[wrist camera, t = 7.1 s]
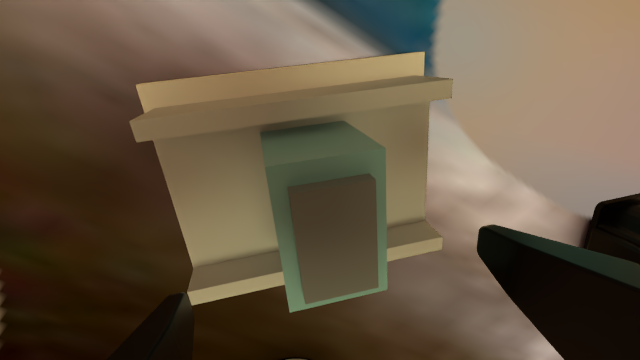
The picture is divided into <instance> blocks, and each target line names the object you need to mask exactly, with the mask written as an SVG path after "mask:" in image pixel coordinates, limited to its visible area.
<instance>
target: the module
mask: <svg viewBox="0 0 640 360" xmlns="http://www.w3.org/2000/svg"><path fill="white" fill-rule="evenodd" d="M260 136H261V144H262V151H263V158H264V166H265V172H266V177H267V183H268V189H269V195H270V201H271V206H272V212H273V218H274V224H275V230H276V235H277V241H278V247H279V253H280V258H281V264H282V270H283V276H284V282H285V287H286V293H287V299H288V305H289V311H290V312H294V311H299V310H303V309H307V308H312V307H316V306H320V305H324V304H329V303H333V302H337V301H341V300H346V299H350V298H354V297H359V296H363V295H367V294H371V293H376V292H380V291H384V290H387V214H386V148H385V147H384V146H382V145H380V144H379V143H377V142H376V141H374V140H373V139H371V138H370V137H368V136H367V135H365V134H364V133H362V132H361V131H359V130H358V129H356V128H355V127H353V126H351V125H350V124H348V123H347V122H345V121H336V122H329V123H322V124H315V125H308V126H300V127H293V128H286V129H279V130H272V131H264V132H260Z"/></svg>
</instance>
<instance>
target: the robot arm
mask: <svg viewBox="0 0 640 360" xmlns="http://www.w3.org/2000/svg"><path fill="white" fill-rule="evenodd" d="M477 252H478V255H479V257H480V258H481V259H482V261H483V262H484V263H485V265H486V266H487V268H488V269H489V270H490V272H491V273H492V274H493V276H494V277H495V279H496V280H497V281H498V283H499V284H500V285H501V287H502V288H503V289H504V291H505V292H506V293H507V295H508V296H509V297H510V298H511V300H512V301H513V302H514V303H515V304H516V305H517V306H518V308H519V309H520V310H521V311H522V312H523V313H524V314H525V316H526V317H527V318H528V319H529V320H530V321H531V322H532V324H533V325H534V326H535V327H536V328H537V329H538V330H539V331H540V333H541V334H542V335H543V336H544V337H545V338H546V339H547V341H548V342H549V343H550V344H551V345H552V346H553V347H554V348H555V350H556V351H557V352H558V353H559V354H560V355H561V356H562V358H563V359H564V360H640V193H639V194H635V195H630V196H625V197H621V198H616V199H612V200H607V201H602V202H600V203H598V204H597V206H596V207H595V210H594V214H593V217H592V221H591V225H590V228H589V232H588V235H587V239H586V243H585V246H584V249H583V248H579V247H575V246H572V245H568V244H564V243H561V242H557V241H553V240H549V239H546V238H542V237H538V236H535V235H531V234H527V233H524V232H520V231H516V230H512V229H509V228H505V227H501V226H498V225H487V226H483V227H481V228H480V229H479V234H478V242H477ZM193 336H194V315H193V311H192V308H191V306H190V303H189V300H188V297H187V295H186V293H184V292H180V293H176V294H171V295H169V296H168V297H166V298H165V299H164V300H163V302H162V303H161V304H160V305H159V306H158V307H157V308H156V309H155V310H154V311H153V312H152V313H151V314H150V315H149V316H148V317H147V318H146V319H145V320H144V321H143V322H142V323H141V324H140V325H139V326H138V327H137V328H136V330H135V331H134V332H133V333H132V334H131V335H130V336H129V337H128V338H127V339H126V340H125V341H124V342H123V343H122V344H121V345H120V346H119V347H118V348H117V349H116V350H115V351H114V352H113V353H112V354H111V355H110V356H109V358H108V359H107V360H192V351H193Z"/></svg>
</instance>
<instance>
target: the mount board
mask: <svg viewBox="0 0 640 360" xmlns="http://www.w3.org/2000/svg"><path fill="white" fill-rule="evenodd" d="M424 55H425V52H412V53H403V54H394V55H386V56H377V57H368V58H359V59H350V60H342V61H333V62H324V63H315V64H306V65H298V66H289V67H280V68H271V69H262V70H254V71H245V72H236V73H227V74H218V75H209V76H201V77H192V78H183V79H174V80H165V81H157V82H148V83H141V84H136V88H137V91H138V95H139V98H140V101H141V104H142V107H143V110H144V114H142V115H140V116H138V117H136V118H135V119H133V120H131V121H129V122H130V125H131V128H132V131H133V134H134V137H135V140H136V142H143V141H150V140H153V142H154V145H155V148H156V151H157V154H158V158H159V161H160V164H161V167H162V170H163V173H164V176H165V180H166V183H167V186H168V189H169V192H170V195H171V198H172V202H173V205H174V208H175V211H176V214H177V217H178V221H179V224H180V227H181V230H182V233H183V236H184V239H185V243H186V246H187V249H188V252H189V255H190V258H191V261H192V265H193V268H194V269H193V273H192V277H191V280H190V284H189V288H188V292H187V293H188V296H189V299H190V302H191V304H192V305H196V304H200V303H205V302H209V301H213V300H218V299H222V298H227V297H231V296H236V295H240V294H245V293H249V292H254V291H258V290H262V289H267V288H271V287H276V286H280V285H285V282H284V276H283V270H282V264H281V258H280V253H279V247H278V241H277V235H276V230H275V224H274V218H273V212H272V206H271V201H270V195H269V189H268V183H267V177H266V172H265V166H264V158H263V151H262V144H261V136H260V132H264V131H272V130H279V129H286V128H293V127H300V126H308V125H315V124H322V123H329V122H336V121H345V122H347V123H348V124H350V125H351V126H353V127H355V128H356V129H358V130H359V131H361V132H362V133H364V134H365V135H367V136H368V137H370V138H371V139H373V140H374V141H376V142H377V143H379V144H380V145H382V146H384V147H385V148H386V214H387V261H392V260H396V259H401V258H405V257H410V256H414V255H418V254H423V253H427V252H432V251H436V250H441V249H442V240H443V237H442V236H441V235H440V234H439V233H438V232H437V231H436V230H435V229H434V228H433V227H432V226H431V225H429V224H428V223H427V222H426V221H425V209H426V182H427V155H428V128H429V102H430V101H433V100H440V99H447V98H452V84H453V79H449V78H438V77H428V76H424Z"/></svg>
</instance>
